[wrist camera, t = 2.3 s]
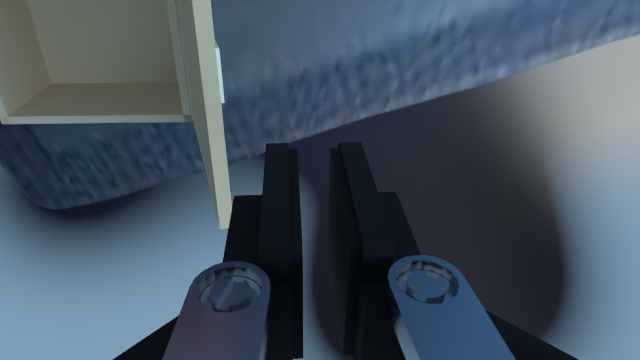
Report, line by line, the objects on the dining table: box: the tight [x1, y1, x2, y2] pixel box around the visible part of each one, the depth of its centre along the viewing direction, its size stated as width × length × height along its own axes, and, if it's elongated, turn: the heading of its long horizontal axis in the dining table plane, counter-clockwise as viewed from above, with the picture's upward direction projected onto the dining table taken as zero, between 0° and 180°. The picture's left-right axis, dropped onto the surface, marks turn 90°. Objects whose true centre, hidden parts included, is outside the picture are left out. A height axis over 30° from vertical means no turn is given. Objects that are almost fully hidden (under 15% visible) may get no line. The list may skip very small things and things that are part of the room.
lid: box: [177, 0, 232, 229], centre depth 25 cm, size 14×16×1 cm
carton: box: [0, 0, 193, 124], centre depth 33 cm, size 14×16×8 cm
